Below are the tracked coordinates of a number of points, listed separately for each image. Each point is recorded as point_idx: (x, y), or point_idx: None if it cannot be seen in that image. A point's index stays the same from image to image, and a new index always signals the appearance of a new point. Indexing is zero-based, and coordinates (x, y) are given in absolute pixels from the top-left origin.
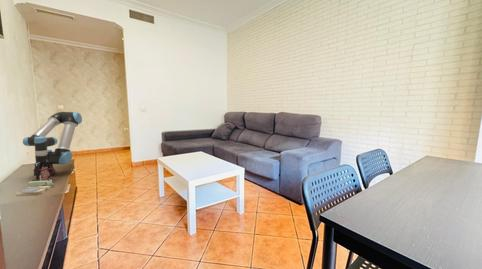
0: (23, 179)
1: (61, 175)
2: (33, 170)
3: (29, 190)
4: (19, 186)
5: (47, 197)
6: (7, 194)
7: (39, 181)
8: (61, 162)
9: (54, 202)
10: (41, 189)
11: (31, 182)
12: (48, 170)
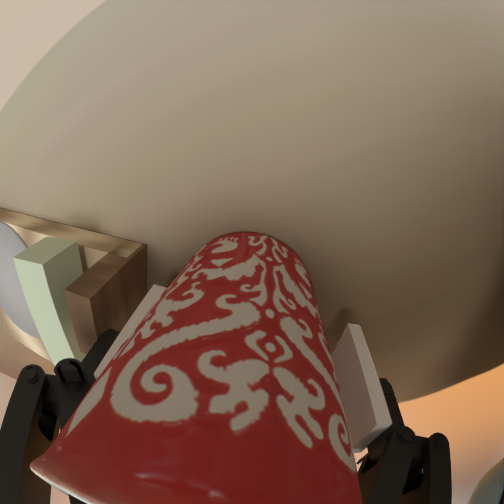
0: (496, 44)
1: (467, 360)
2: (50, 449)
3: (2, 282)
4: (202, 53)
5: (14, 354)
6: (9, 116)
7: (59, 359)
8: (483, 495)
9: (3, 368)
10: (35, 342)
11: (25, 295)
12: (360, 469)
